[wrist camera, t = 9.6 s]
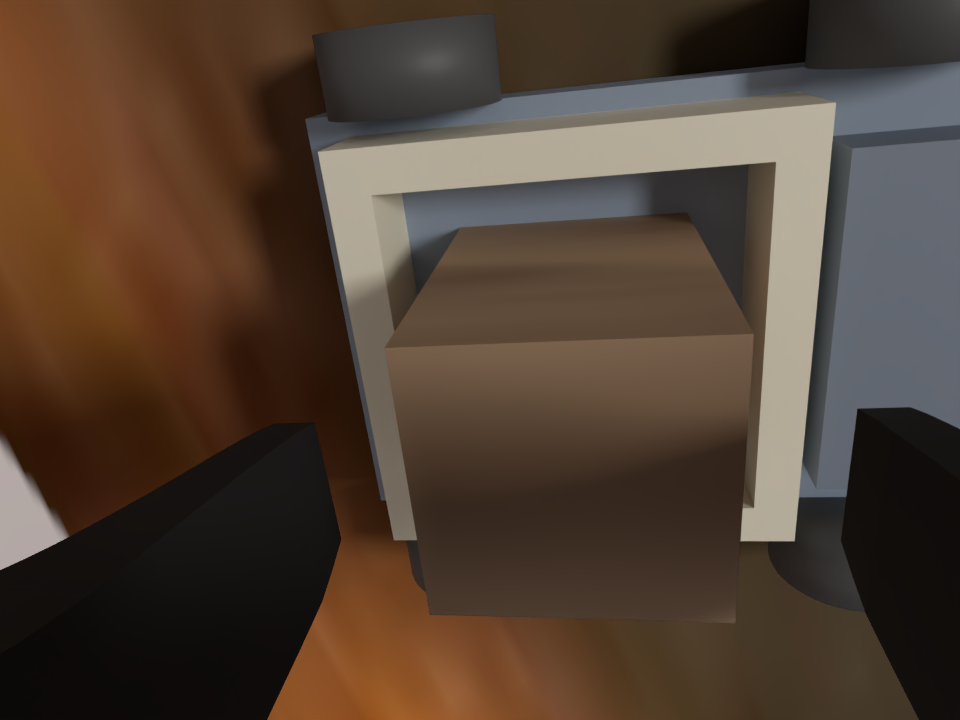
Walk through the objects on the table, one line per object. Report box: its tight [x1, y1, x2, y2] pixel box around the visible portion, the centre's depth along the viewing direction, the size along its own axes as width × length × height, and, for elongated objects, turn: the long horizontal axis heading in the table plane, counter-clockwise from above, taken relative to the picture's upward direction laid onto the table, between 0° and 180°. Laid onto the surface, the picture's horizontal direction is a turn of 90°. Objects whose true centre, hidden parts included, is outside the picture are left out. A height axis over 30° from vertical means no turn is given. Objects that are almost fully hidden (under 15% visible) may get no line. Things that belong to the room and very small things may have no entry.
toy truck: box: [305, 0, 960, 612], centre depth 14 cm, size 12×13×3 cm
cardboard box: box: [385, 212, 754, 623], centre depth 12 cm, size 4×4×6 cm
